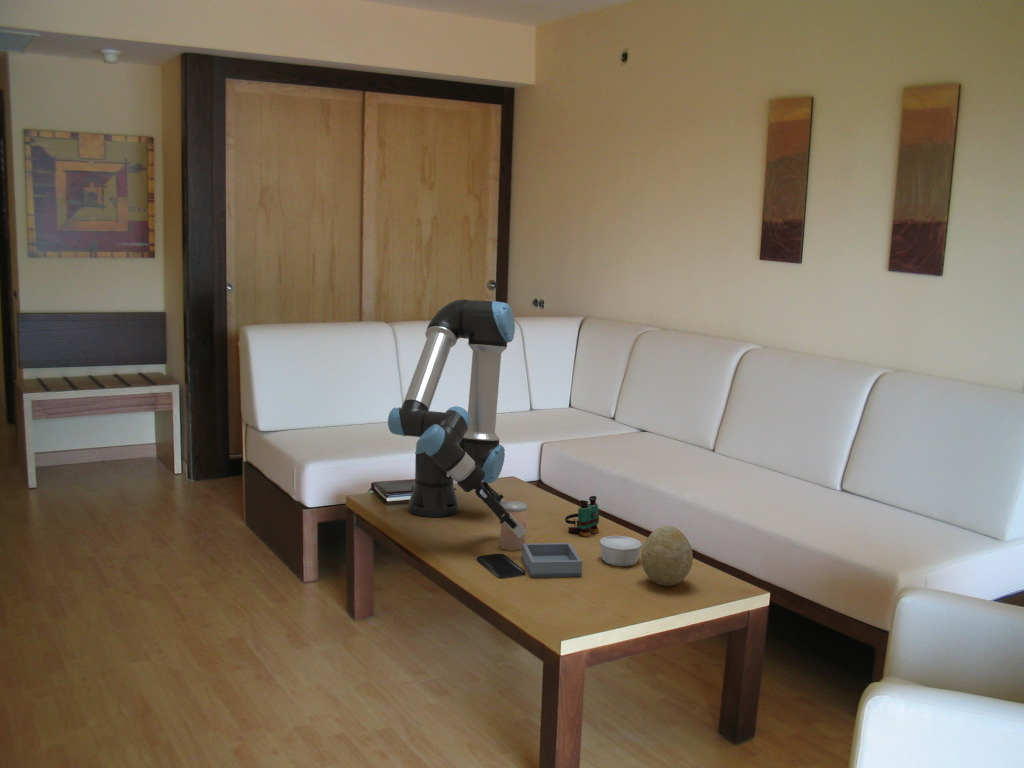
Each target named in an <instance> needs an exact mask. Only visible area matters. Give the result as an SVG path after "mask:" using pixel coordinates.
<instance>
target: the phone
mask: <svg viewBox="0 0 1024 768" xmlns="http://www.w3.org/2000/svg"><path fill="white" fill-rule="evenodd" d="M476 561H477V562H478V563H479V564H481V565H482V566H483V567H484V568H485V569H487V570H488V571H489V572H490V573H491V574H492V575H493V576H495V577H496V578H498V579H501V580H502V579H510V578H516V577H517V578H518V577H523V576H526V570H525V569H523V568H522V567H521V566H520V565H518V564H517V562H514V561H513V560H512V559H511V558H510V557H508V555H505V554H504V553H492V554H484V555H483V554H482V555H477V556H476Z"/></svg>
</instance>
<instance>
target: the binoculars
mask: <svg viewBox="0 0 1024 768" xmlns="http://www.w3.org/2000/svg"><path fill="white" fill-rule="evenodd" d="M596 501H597V496H596V495H591V496H589V498H588V500H583V499H581V500H580V504H581V506H580V507H578V510H577V513H572V514H570V515H567V516H565V518H564V519H565V521H564V522H565V523H566V524H569V525H573V526H569V527H567V529H568V532H569V533H580V535H581V536H583V537H587V538H588V537H591V533H593V534H598V533H599V531H600V530H599V527H598V524H599V523H600V516H599V507H598V503H597V502H596ZM576 518H577V519H576ZM570 519H573V520H570Z"/></svg>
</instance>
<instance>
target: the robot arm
mask: <svg viewBox="0 0 1024 768" xmlns="http://www.w3.org/2000/svg"><path fill="white" fill-rule="evenodd" d="M515 326H516V325H515V316H514V311H513V309H512V307H511V306H510V305H509V304H508V303H506V302H502V301H496V300H478V299H474V300H473V299H464V298H462V299H456V300H453V301H451V302H448V303H447V304H446V305H444V306H443V307H442V308H440V309H439V310H438V311H437V312H436V313H435V314H434V315H433V317H432V318H431V320H430V321H429V323H428V325H427V328H426V330H425V338H426V341H425V343H424V346H423V347H422V348H423V349H422V351H421V353H420V356H419V359H418V363H417V365H416V368H415V370H414V373H413V375H412V378H411V381H410V384H409V386H408V389H407V392H406V395H405V397H404V400H403V403H402V405H401V407H393V408H392V409H391V410H390V411H389V414H388V418H387V426H388V430H389V432H390V433H391V434H393V435H398V436H403V437H415V438H419V439H417V441H416V444H415V445H416V446H415V452H414V454H415V460H414V461H415V467H414V468H415V469H414V471H415V473H414V487H413V490H412V493H411V495H410V498H409V501H408V511H409V512H410V513H411V514H413V515H417V516H420V517H428V518H439V517H442V518H443V517H448V516H453V515H455V514H457V513H458V512H459V500H458V497H457V493H456V490H455V487H454V482H456V483H457V486H459V487H460V489H462V490H463V491H464V492H465V493H469V492H471V491H473V490H474V492H475V493H476V494H475V495H476V496H477V497H478V498H479V499H481V500H482V501H483V503H484V504H485V505H487V507H488V508H489V509H490V510H491V511H492V512H493V514H494V515H496V517H497V518H498V519H499V523H500V525H501V524H502V523H503V522H504V523H505V524H506V525H507V526H508V527H509V528H510V529H511V530H512V531H513V532H514V533H515V534H516V535H517V536H518V537H519V538H520V537H521V536H522V535H524V534H525V533H526V534H527V529H526V530H525V529H524V528H523V527H522V526H521V525H520V524H519V523H518V522H517V521H516V519H515V518H514V517H513V516H512V515H511V514H509V513H508V512H507V511H506V510H505V509H504V508H503V506H502V505H501V504H502V503H503V502H506V500H504V499H503V498H504V495H503V494H502V493H501V494H499V493H498V492H497V491H495V490H494V489H493V488H492V487H491V485H489V484H493V483H495V482H496V481H497V480H498V478H499V477H500V475H501V473H502V471H503V467H504V463H505V455H506V454H505V451H506V450H505V447H504V446H503V445H501V444H500V438H499V436H498V435H497V434H496V423H497V410H498V409H497V408H498V399H499V388H500V377H501V376H500V375H501V374H500V373H501V361H502V353H503V352H505V351H506V350H507V348H508V343H512V342H513V340H514V338H515V333H516V331H515V330H516V327H515ZM459 339H468V343H467V345H468V347H470V349H471V351H472V357H471V367H470V369H471V370H470V383H469V392H468V393H469V394H468V406H467V408H468V409H465V408H463V407H461V406H458V405H455V406H452V407H449V408H448V409H446V411H444V412H442V411H434V410H430V407H431V405H432V402H433V399H434V397H435V393H436V391H437V388H438V386H439V382H440V380H441V376H442V373H443V371H444V368H445V365H446V362H447V359H448V357H449V354H450V351H451V349H452V348H453V347H455V346H456V344H457V343H458V340H459ZM504 514H505V515H504ZM503 515H504V516H503ZM502 516H503V517H502Z"/></svg>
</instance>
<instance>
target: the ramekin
mask: <svg viewBox="0 0 1024 768" xmlns="http://www.w3.org/2000/svg"><path fill="white" fill-rule="evenodd" d="M599 546H600V555H601V560H604V561H605V562H604V561H603V562H604V563H606V564H608V565H610V564H612V565H611V566H615V565H617V566H616V567H629V565H631V566H633V564H634V565H635V564H637V562H638V560H639V558H640V557H639V556H640V552H641V550H642V548H643V545H642V542H641V541H640V540H639V539H637V538H634V537H632V536H631V537H630V536H623V535H608V536H604V537H602V538H601V539H600V540H599Z"/></svg>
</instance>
